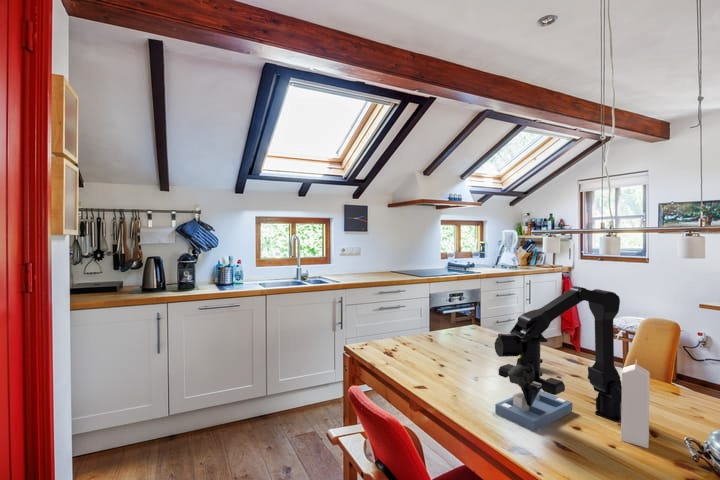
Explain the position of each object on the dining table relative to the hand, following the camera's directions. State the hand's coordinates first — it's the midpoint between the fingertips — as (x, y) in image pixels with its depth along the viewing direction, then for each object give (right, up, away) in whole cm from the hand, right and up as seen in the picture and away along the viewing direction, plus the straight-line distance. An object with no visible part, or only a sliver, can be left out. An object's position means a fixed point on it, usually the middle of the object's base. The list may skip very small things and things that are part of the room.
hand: (529, 405), depth 113 cm
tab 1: (-2, -3, +2) cm, 4 cm away
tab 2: (+5, -3, +10) cm, 12 cm away
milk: (+24, -5, -12) cm, 27 cm away
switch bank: (+3, -4, +4) cm, 7 cm away
